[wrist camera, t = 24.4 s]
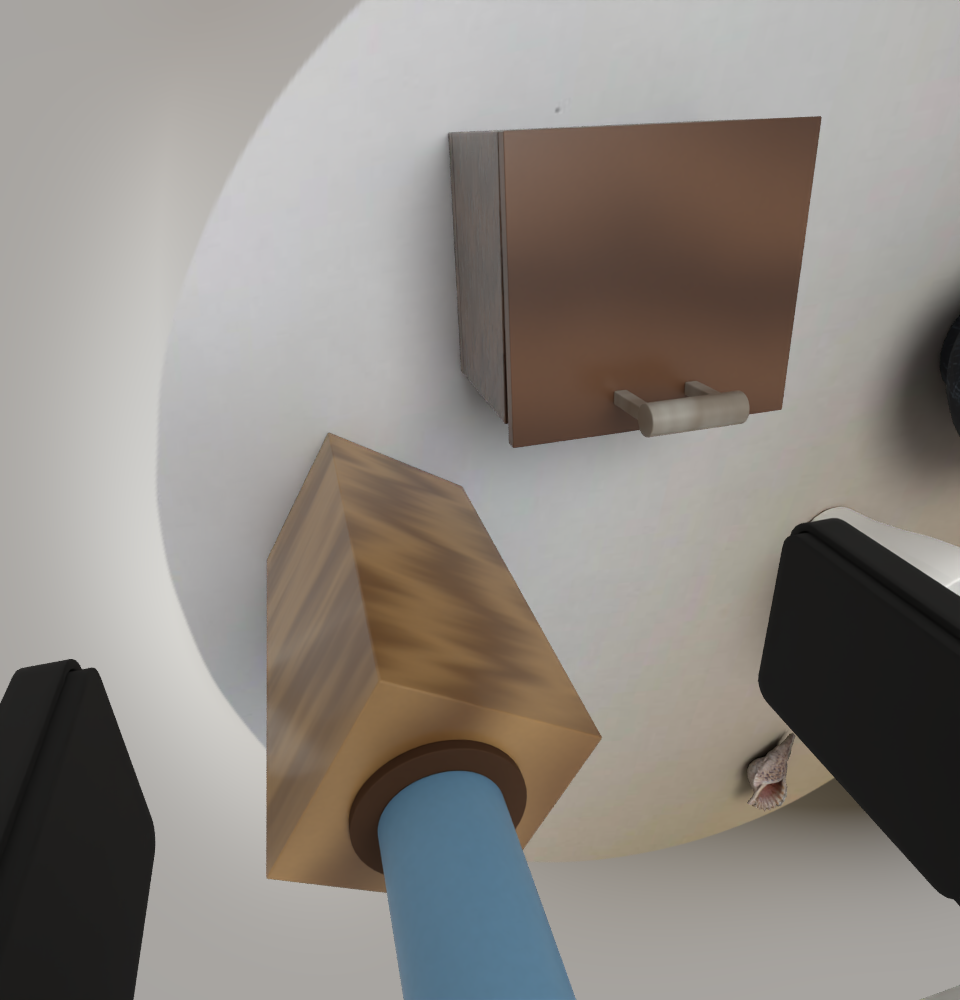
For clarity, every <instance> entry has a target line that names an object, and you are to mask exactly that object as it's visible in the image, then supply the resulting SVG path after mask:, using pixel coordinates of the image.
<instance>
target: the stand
mask: <svg viewBox="0 0 960 1000" xmlns="http://www.w3.org/2000/svg"><path fill="white" fill-rule="evenodd" d="M601 738H602V737H601V735H600V733H599V731H598V729H597V728H596V726H595V724H594V722H593V721H592V719H591V717H590V715H589V713H588V712H587V710H586V708H585V706H584V704H583V703H582V701H581V699H580V697H579V695H578V694H577V692H576V690H575V688H574V686H573V685H572V683H571V681H570V679H569V677H568V676H567V674H566V672H565V670H564V668H563V667H562V665H561V663H560V661H559V659H558V658H557V656H556V654H555V652H554V650H553V649H552V647H551V645H550V643H549V642H548V640H547V638H546V636H545V634H544V633H543V631H542V629H541V627H540V625H539V624H538V622H537V620H536V618H535V616H534V615H533V613H532V611H531V609H530V607H529V606H528V604H527V602H526V600H525V598H524V597H523V595H522V593H521V591H520V589H519V588H518V586H517V584H516V582H515V580H514V579H513V577H512V575H511V573H510V571H509V570H508V568H507V566H506V564H505V562H504V561H503V559H502V557H501V555H500V554H499V552H498V550H497V548H496V546H495V545H494V543H493V541H492V539H491V537H490V536H489V534H488V532H487V530H486V528H485V527H484V525H483V523H482V521H481V519H480V518H479V516H478V514H477V512H476V510H475V509H474V507H473V505H472V503H471V501H470V500H469V498H468V496H467V494H466V492H465V491H464V489H463V487H462V486H459V485H457V484H454V483H452V482H449V481H447V480H444V479H442V478H439V477H437V476H435V475H432V474H430V473H427V472H425V471H422V470H420V469H417V468H415V467H412V466H410V465H407V464H405V463H402V462H400V461H398V460H395V459H393V458H390V457H388V456H385V455H383V454H380V453H378V452H375V451H373V450H370V449H368V448H365V447H363V446H361V445H358V444H356V443H353V442H351V441H348V440H346V439H343V438H341V437H338V436H336V435H333V434H331V433H328V434H327V436H326V438H325V440H324V442H323V445H322V447H321V449H320V451H319V453H318V455H317V457H316V459H315V461H314V463H313V465H312V467H311V469H310V471H309V473H308V476H307V478H306V480H305V482H304V484H303V486H302V488H301V490H300V492H299V494H298V496H297V498H296V500H295V502H294V505H293V507H292V509H291V511H290V513H289V515H288V517H287V519H286V521H285V523H284V525H283V527H282V529H281V531H280V533H279V536H278V538H277V540H276V542H275V544H274V546H273V548H272V550H271V552H270V554H269V556H268V558H267V847H266V849H267V850H266V852H267V853H266V854H267V857H266V859H267V860H266V862H267V864H266V866H267V867H266V874H267V875H266V876H267V879H274V880H282V881H290V882H299V883H307V884H317V885H325V886H333V887H341V888H350V889H359V890H367V891H376V892H384V893H387V890H386V884H385V877H384V875H383V874H381V873H379V872H377V871H374V870H373V869H371V868H370V867H368V866H367V865H366V864H365V863H364V862H362V861H361V860H360V858H359V857H358V856H357V854H356V853H355V851H354V849H353V847H352V844H351V840H350V834H349V814H350V810H351V807H352V804H353V801H354V799H355V797H356V795H357V793H358V792H359V790H360V789H361V787H362V786H363V784H364V783H365V782H366V781H367V780H368V779H369V778H370V776H371V775H373V774H374V773H375V772H376V771H377V770H378V769H379V768H380V767H382V766H383V765H385V764H386V763H387V762H389V761H390V760H392V759H394V758H395V757H397V756H399V755H401V754H403V753H405V752H407V751H409V750H411V749H414V748H417V747H420V746H423V745H426V744H430V743H434V742H440V741H446V740H472V741H478V742H483V743H486V744H489V745H492V746H494V747H496V748H498V749H500V750H502V751H503V752H505V753H506V754H508V755H509V756H510V757H511V758H512V759H513V760H514V761H515V763H516V764H517V766H518V767H519V769H520V771H521V773H522V776H523V778H524V781H525V785H526V789H527V801H526V807H525V811H524V814H523V817H522V819H521V821H520V823H519V825H518V826H517V828H516V829H515V830H516V833H517V836H518V839H519V842H520V844H521V847H522V850H523V849H524V848H525V846H526V845H527V843H528V842H529V841H530V839H531V838H532V836H533V835H534V833H535V832H536V831H537V829H538V828H539V826H540V825H541V824H542V822H543V821H544V819H545V818H546V817H547V815H548V814H549V812H550V811H551V809H552V808H553V807H554V805H555V804H556V802H557V801H558V800H559V798H560V797H561V795H562V794H563V793H564V791H565V790H566V788H567V787H568V785H569V784H570V783H571V781H572V780H573V778H574V777H575V776H576V774H577V773H578V771H579V770H580V769H581V767H582V766H583V764H584V763H585V761H586V760H587V759H588V757H589V756H590V754H591V753H592V752H593V750H594V749H595V747H596V746H597V745H598V743H599V742H600V740H601Z"/></svg>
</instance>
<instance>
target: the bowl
mask: <svg viewBox="0 0 960 1000" xmlns="http://www.w3.org/2000/svg"><path fill="white" fill-rule="evenodd" d="M940 371H941V375H942V379H943V381H944V382H945V384H946V395H947V400H948V405H949V409H950V413H951V416H952V420H953V424H954V426H955V428H956V430H957V432H958V434H959V436H960V315H959V316H958V318H957V319H956V320H955V322H954V323H953V325H952V326H951V328H950V330H949V332H948V334H947V336H946V338H945V340H944V344H943V347H942V351H941V356H940Z"/></svg>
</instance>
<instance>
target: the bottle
mask: <svg viewBox="0 0 960 1000" xmlns="http://www.w3.org/2000/svg"><path fill="white" fill-rule="evenodd" d="M378 839H379V846H380V852H381V858H382V865H383V871H384V877H385V884H386V890H387V896H388V902H389V909H390V915H391V921H392V928H393V934H394V941H395V947H396V953H397V960H398V966H399V972H400V979H401V985H402V991H403V998H404V1000H576V998H575V995H574V993H573V990H572V987H571V984H570V982H569V979H568V976H567V973H566V970H565V967H564V965H563V962H562V959H561V956H560V954H559V951H558V948H557V945H556V942H555V940H554V937H553V934H552V931H551V928H550V926H549V923H548V920H547V917H546V914H545V912H544V909H543V906H542V903H541V900H540V898H539V895H538V892H537V889H536V886H535V884H534V881H533V878H532V875H531V872H530V870H529V867H528V864H527V861H526V858H525V856H524V853H523V850H522V847H521V844H520V842H519V839H518V836H517V833H516V830H515V828H514V825H513V822H512V819H511V816H510V814H509V811H508V808H507V805H506V802H505V800H504V797H503V794H502V792H501V790H500V789H499V787H498V786H497V785H496V784H495V783H494V782H493V781H492V780H490V779H489V778H487V777H485V776H483V775H481V774H478V773H474V772H469V771H447V772H441V773H437V774H433V775H430V776H427V777H424V778H422V779H420V780H417V781H415V782H414V783H412V784H410V785H408V786H407V787H405V788H404V789H403V790H401V791H400V792H399V793H398V794H397V795H395V796H394V797H393V799H392V800H391V801H390V802H389V803H388V804H387V806H386V807H385V809H384V811H383V813H382V814H381V817H380V820H379V824H378Z"/></svg>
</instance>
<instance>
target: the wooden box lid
mask: <svg viewBox="0 0 960 1000" xmlns="http://www.w3.org/2000/svg"><path fill="white" fill-rule="evenodd" d="M820 125H821V116H817V117H795V118H773V119H751V120H730V121H708V122H686V123H664V124H642V125H620V126H598V127H577V128H555V129H533V130H511V131H500V132H499V133H498V137H499V166H500V195H501V224H502V253H503V283H504V312H505V341H506V370H507V399H508V428H509V443H510V445H511V446H512V447H513V448H517V447H524V446H531V445H538V444H545V443H552V442H559V441H566V440H573V439H580V438H587V437H594V436H601V435H608V434H615V433H622V432H629V431H636V430H640V431H641V433H642V434H643V435H644V436H645V437H653V436H660V435H667V434H674V433H681V432H688V431H695V430H701V429H708V428H715V427H722V426H729V425H736V424H742V423H744V422H745V421H746V420H747V418H748V416H749V414H754V413H761V412H768V411H775V410H781V409H782V403H783V395H784V388H785V381H786V373H787V366H788V359H789V351H790V344H791V337H792V329H793V322H794V315H795V307H796V300H797V293H798V285H799V278H800V271H801V264H802V256H803V249H804V242H805V234H806V227H807V220H808V212H809V205H810V198H811V190H812V183H813V176H814V168H815V161H816V154H817V146H818V139H819V132H820Z"/></svg>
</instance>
